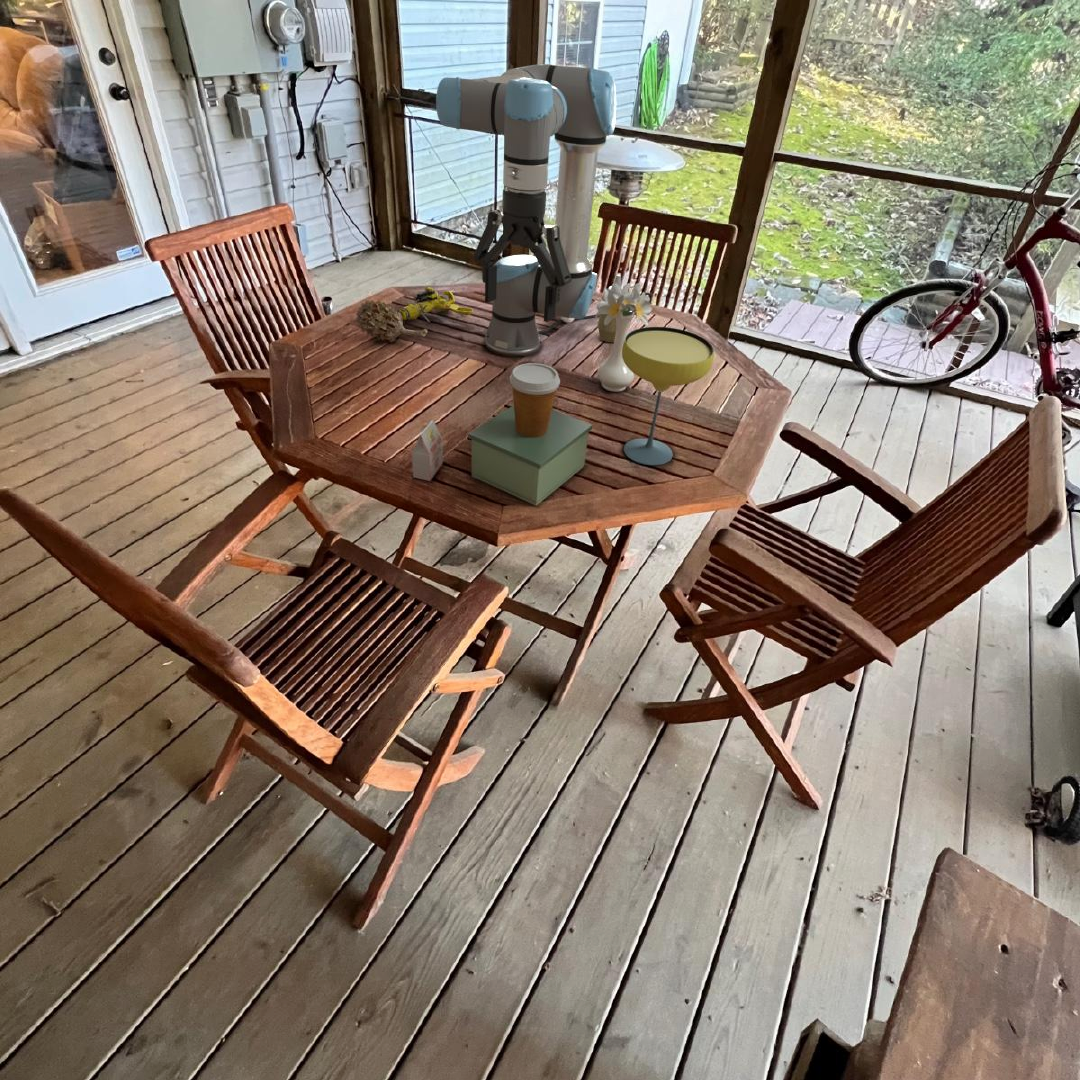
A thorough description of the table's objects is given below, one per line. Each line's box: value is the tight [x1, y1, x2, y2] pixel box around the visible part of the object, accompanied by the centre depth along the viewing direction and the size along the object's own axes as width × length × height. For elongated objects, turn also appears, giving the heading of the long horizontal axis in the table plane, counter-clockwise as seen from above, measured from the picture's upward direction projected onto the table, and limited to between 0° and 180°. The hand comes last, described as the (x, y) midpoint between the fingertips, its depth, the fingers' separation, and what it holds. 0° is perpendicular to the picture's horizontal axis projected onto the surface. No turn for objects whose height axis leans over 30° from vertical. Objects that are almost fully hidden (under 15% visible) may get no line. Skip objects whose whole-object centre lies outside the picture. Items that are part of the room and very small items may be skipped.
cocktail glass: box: [622, 326, 715, 467], centre depth 143 cm, size 18×18×25 cm
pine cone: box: [355, 299, 428, 343], centre depth 183 cm, size 22×10×10 cm, turn 70°
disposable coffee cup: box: [509, 362, 561, 437], centre depth 132 cm, size 10×10×12 cm
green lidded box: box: [467, 404, 594, 507], centre depth 139 cm, size 19×17×10 cm
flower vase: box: [593, 282, 653, 393], centre depth 167 cm, size 13×18×25 cm
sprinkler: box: [399, 286, 474, 323], centre depth 200 cm, size 19×8×20 cm
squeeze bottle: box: [597, 274, 624, 343], centre depth 192 cm, size 8×8×18 cm
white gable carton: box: [411, 419, 444, 482], centre depth 137 cm, size 4×7×10 cm, turn 165°
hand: (519, 310), depth 131 cm, fingers open, 13 cm apart
